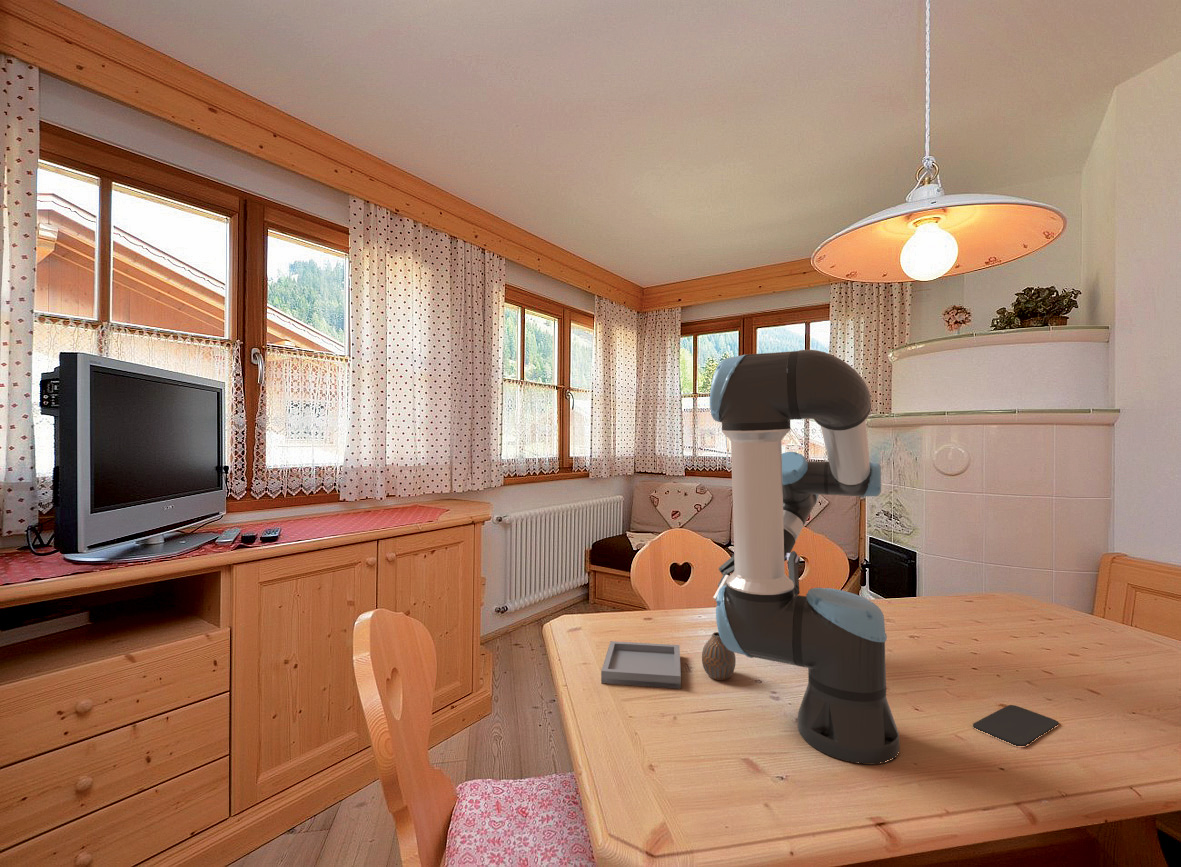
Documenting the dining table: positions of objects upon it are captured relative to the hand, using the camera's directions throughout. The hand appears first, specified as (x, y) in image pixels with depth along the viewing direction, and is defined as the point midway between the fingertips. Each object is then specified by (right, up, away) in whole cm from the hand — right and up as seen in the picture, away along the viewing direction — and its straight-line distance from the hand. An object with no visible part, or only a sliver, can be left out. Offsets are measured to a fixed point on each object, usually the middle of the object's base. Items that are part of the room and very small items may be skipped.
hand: (741, 609), depth 114 cm
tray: (-22, -12, -2) cm, 25 cm away
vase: (-6, -12, -5) cm, 15 cm away
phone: (+40, -12, -25) cm, 49 cm away
